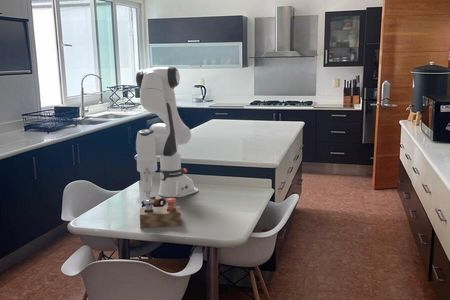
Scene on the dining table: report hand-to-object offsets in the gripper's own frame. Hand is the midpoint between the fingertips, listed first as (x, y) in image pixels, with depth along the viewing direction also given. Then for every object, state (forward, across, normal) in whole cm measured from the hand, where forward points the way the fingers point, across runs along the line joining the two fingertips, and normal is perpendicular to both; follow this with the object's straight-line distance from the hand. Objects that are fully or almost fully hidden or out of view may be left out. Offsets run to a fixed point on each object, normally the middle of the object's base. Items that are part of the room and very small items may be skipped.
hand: (148, 196), depth 208 cm
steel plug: (+8, 0, 0) cm, 9 cm away
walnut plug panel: (+13, 0, -5) cm, 14 cm away
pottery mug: (+13, +18, -2) cm, 23 cm away
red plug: (+8, 0, -10) cm, 13 cm away
